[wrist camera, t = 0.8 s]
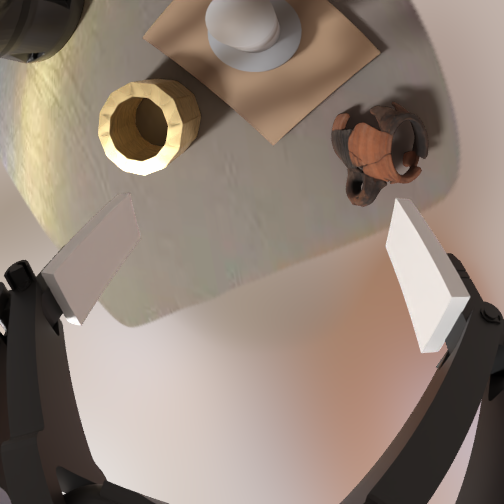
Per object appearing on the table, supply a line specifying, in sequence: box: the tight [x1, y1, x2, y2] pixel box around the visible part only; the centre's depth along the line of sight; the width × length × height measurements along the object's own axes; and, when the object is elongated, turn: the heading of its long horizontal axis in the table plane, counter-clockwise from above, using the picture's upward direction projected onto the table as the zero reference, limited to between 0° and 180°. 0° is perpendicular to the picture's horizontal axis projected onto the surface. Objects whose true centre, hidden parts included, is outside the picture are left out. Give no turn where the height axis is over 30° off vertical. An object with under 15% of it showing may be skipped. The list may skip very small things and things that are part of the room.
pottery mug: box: [332, 102, 428, 207], centre depth 28 cm, size 12×9×8 cm
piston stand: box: [143, 0, 380, 145], centre depth 20 cm, size 20×16×11 cm
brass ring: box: [99, 79, 201, 175], centre depth 29 cm, size 10×10×6 cm
